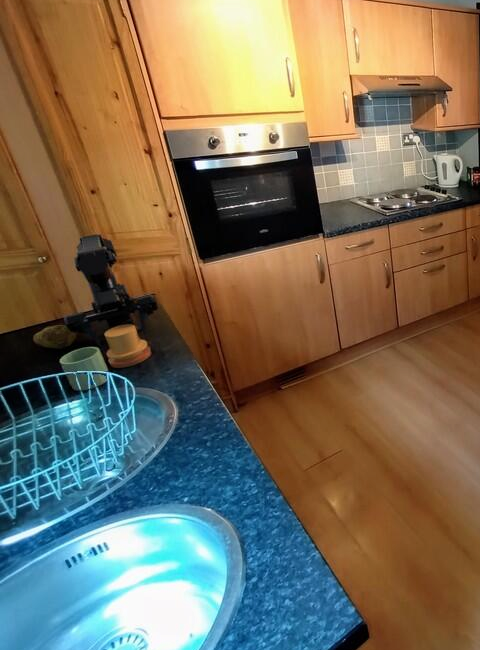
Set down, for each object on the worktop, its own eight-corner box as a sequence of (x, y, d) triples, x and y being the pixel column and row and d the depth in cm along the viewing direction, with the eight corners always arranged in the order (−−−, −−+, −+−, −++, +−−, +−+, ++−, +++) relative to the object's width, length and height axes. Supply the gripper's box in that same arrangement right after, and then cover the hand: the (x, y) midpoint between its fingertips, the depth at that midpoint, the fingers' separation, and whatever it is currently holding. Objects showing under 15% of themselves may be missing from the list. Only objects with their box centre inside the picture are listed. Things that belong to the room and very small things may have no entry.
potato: (75, 334, 134) (64, 311, 131) (84, 350, 127) (72, 326, 124) (36, 346, 129) (24, 322, 125) (43, 363, 121) (30, 338, 118)
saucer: (103, 362, 122) (101, 358, 121) (140, 345, 129) (139, 342, 129) (120, 371, 118) (118, 367, 118) (158, 354, 125) (156, 350, 125)
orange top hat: (100, 362, 120) (89, 337, 117) (129, 344, 127) (120, 321, 124) (129, 365, 119) (119, 340, 116) (157, 347, 126) (148, 323, 123)
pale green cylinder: (67, 385, 113) (54, 358, 110) (102, 369, 119) (90, 344, 115) (80, 394, 110) (67, 367, 106) (116, 377, 116) (104, 351, 112)
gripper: (49, 288, 111) (68, 344, 108) (143, 268, 123) (163, 318, 120) (62, 305, 120) (80, 357, 117) (148, 284, 131) (167, 332, 128)
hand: (123, 340), depth 120 cm, fingers open, 9 cm apart
